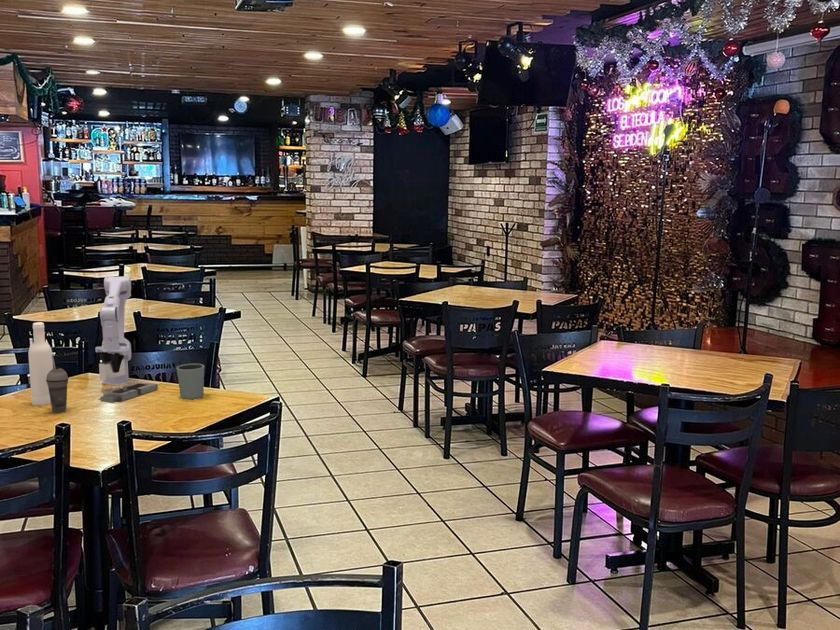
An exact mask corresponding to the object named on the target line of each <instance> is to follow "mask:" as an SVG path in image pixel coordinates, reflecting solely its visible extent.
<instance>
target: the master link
mask: <svg viewBox="0 0 840 630" xmlns="http://www.w3.org/2000/svg"><path fill="white" fill-rule="evenodd" d="M98 368H99V369H98V371H99V372H98V373H99V380H108V379H112V378H115V377H118V376H122V375H125V359H123V360H122V362H121V365H120V370H119V372H117V373H114V370H113V363H112V361H108V362H104V363H103V362H100V363H99V364H98Z"/></svg>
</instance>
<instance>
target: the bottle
mask: <svg viewBox="0 0 840 630" xmlns="http://www.w3.org/2000/svg"><path fill="white" fill-rule="evenodd" d="M32 330H33V332H32V333H33V343H32V344H31V345H30V346H29V349H28V352H27V353H28V366H29V379H30V380H29V381H30V384H29V385H30V401H31V405H32V406H45V405H46V406H47V405H51V401H50V395H49V389H48V385H47V381H46V378H47V374H48V372H49V371H50V370H52V369H54V366H53V361H52V356H53V349H52V348H51V346H50V344H49V343H48V342H46V337H45V323H44V322H41V321H40V322H39V321H37V322H33V323H32Z"/></svg>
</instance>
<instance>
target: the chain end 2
mask: <svg viewBox="0 0 840 630" xmlns="http://www.w3.org/2000/svg"><path fill="white" fill-rule="evenodd" d="M158 385H159V384H158V383H153V382H152V383H151V382H140V381H136V382H133V383H132V382H131V383H128V384H127V385H126V384H125V385H122V388H123V393H124V392H127V391H130V390H137V395H142V396H144V395H143V394H145V395H147V394H146V393H148V394H150V393H149V392H151V393H153V392H152V391H154V392H156V391H155V390H156V389H158V388H159V386H158Z"/></svg>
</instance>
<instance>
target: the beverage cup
mask: <svg viewBox="0 0 840 630" xmlns="http://www.w3.org/2000/svg"><path fill="white" fill-rule="evenodd" d="M52 362H53V369H52V370H50V371H49V372H48V374H47V378H46V381H47V385H48V389H49V395H50V401H51V404H50V406H51V411H52V413H55V414H59V413H65V412H66V410H67V402H68V401H67V399H68V383H69V377H68V373H67V372H66V371H65V370H64V369H63V368H62V367H56V364H55V359H54V355H52Z"/></svg>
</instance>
